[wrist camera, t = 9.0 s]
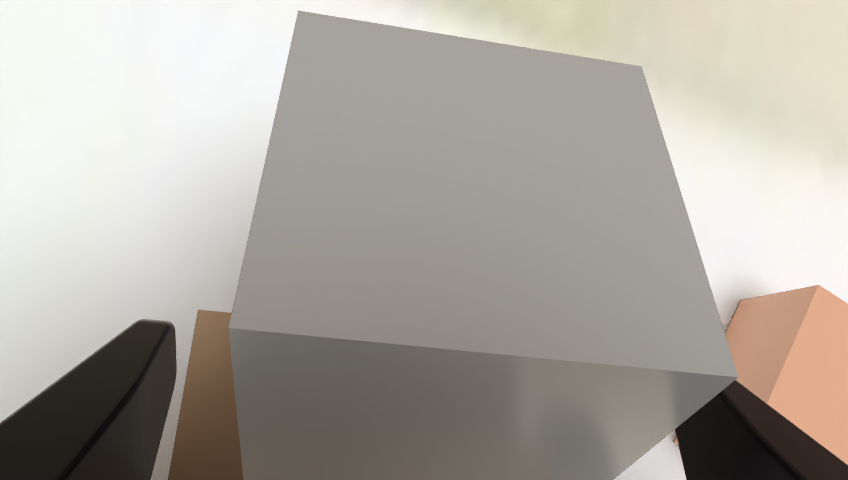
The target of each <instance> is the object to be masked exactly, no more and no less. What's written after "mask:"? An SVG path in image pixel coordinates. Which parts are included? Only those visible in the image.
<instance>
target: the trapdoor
mask: <svg viewBox="0 0 848 480" xmlns="http://www.w3.org/2000/svg"><path fill="white" fill-rule="evenodd" d="M231 315H232V313H225V312H215V311H204V310H198V314H197V319H196V325H195V330H194V336H193V342H192V347H191V353H190V359H189V364H188V370H187V376H186V381H185V387H184V392H183V398H182V404H181V409H180V415H179V421H178V426H177V432H176V438H175V443H174V449H173V455H172V460H171V466H170V471H169V477H168V480H243V469H242V459H241V449H240V439H239V429H238V419H237V408H236V398H235V388H234V378H233V368H232V357H231V347H230V337H229V324H230V319H231Z"/></svg>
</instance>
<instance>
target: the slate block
mask: <svg viewBox="0 0 848 480" xmlns="http://www.w3.org/2000/svg"><path fill="white" fill-rule="evenodd" d="M229 337H230V347H231V357H232V368H233V378H234V388H235V398H236V408H237V419H238V429H239V439H240V449H241V459H242V469H243V480H613V479H614V478H616V477H617V476H618V475H619V474H621V473H622V472H623V471H624V470H625V469H627V468H628V467H629V466H630V465H632V464H633V463H634V462H635V461H637V460H638V459H639V458H640V457H641V456H643V455H644V454H645V453H646V452H648V451H649V450H650V449H651V448H652V447H654V446H655V445H656V444H657V443H659V442H660V441H661V440H662V439H663V438H665V437H666V436H667V435H668V434H670V433H671V432H672V431H673V430H674V429H676V428H677V427H678V426H679V425H681V424H682V423H683V422H684V421H685V420H687V419H688V418H689V417H690V416H692V415H693V414H694V413H695V412H696V411H698V410H699V409H700V408H701V407H703V406H704V405H705V404H706V403H707V402H709V401H710V400H711V399H712V398H714V397H715V396H716V395H717V394H719V393H720V392H721V391H722V390H723V389H725V388H726V387H727V386H728V385H730V384H731V383H732V382H733V381H734V380H736V379H737V378H738V374H737V371H736V368H735V365H734V362H733V358H732V355H731V352H730V349H729V346H728V342H727V339H726V336H725V333H724V330H723V326H722V323H721V320H720V317H719V313H718V310H717V307H716V304H715V301H714V297H713V294H712V291H711V288H710V285H709V281H708V278H707V275H706V272H705V269H704V265H703V262H702V259H701V256H700V253H699V249H698V246H697V243H696V240H695V236H694V233H693V230H692V227H691V224H690V220H689V217H688V214H687V211H686V208H685V204H684V201H683V198H682V195H681V192H680V188H679V185H678V182H677V179H676V176H675V172H674V169H673V166H672V163H671V160H670V156H669V153H668V150H667V147H666V143H665V140H664V137H663V134H662V131H661V127H660V124H659V121H658V118H657V115H656V111H655V108H654V105H653V102H652V99H651V95H650V92H649V89H648V86H647V83H646V79H645V76H644V73H643V70H642V66H635V65H629V64H623V63H617V62H611V61H605V60H598V59H592V58H586V57H580V56H574V55H568V54H562V53H555V52H549V51H543V50H537V49H531V48H525V47H518V46H512V45H506V44H500V43H494V42H488V41H482V40H475V39H469V38H463V37H457V36H451V35H445V34H438V33H432V32H426V31H420V30H414V29H408V28H402V27H395V26H389V25H383V24H377V23H371V22H365V21H358V20H352V19H346V18H340V17H334V16H328V15H321V14H315V13H309V12H303V11H298V14H297V19H296V23H295V28H294V33H293V37H292V42H291V46H290V51H289V55H288V60H287V64H286V69H285V74H284V78H283V83H282V87H281V92H280V96H279V101H278V105H277V110H276V114H275V119H274V124H273V128H272V133H271V137H270V142H269V146H268V151H267V155H266V160H265V165H264V169H263V174H262V178H261V183H260V187H259V192H258V196H257V201H256V206H255V210H254V215H253V219H252V224H251V228H250V233H249V237H248V242H247V246H246V251H245V256H244V260H243V265H242V269H241V274H240V278H239V283H238V287H237V292H236V297H235V301H234V306H233V310H232V315H231V319H230V324H229Z"/></svg>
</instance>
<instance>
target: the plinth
mask: <svg viewBox="0 0 848 480" xmlns="http://www.w3.org/2000/svg"><path fill="white" fill-rule="evenodd" d="M725 336H726V339H727V342H728V346H729V349H730V352H731V355H732V358H733V362H734V365H735V368H736V371H737V374H738V378H737V379H736V381H738V382H739V383H740V384H742V385H743V386H744V387H746V388H747V389H748V390H750V391H751V392H752V393H754V394H755V395H756V396H757V397H759V398H760V399H761V400H763V401H764V402H765V403H767V404H768V405H769V406H771V407H772V408H773V409H775V410H776V411H777V412H779V413H780V414H781V415H783V416H784V417H785V418H786V419H788V420H789V421H790V422H792V423H793V424H794V425H796V426H797V427H798V428H800V429H801V430H802V431H804V432H805V433H806V434H808V435H809V436H810V437H812V438H813V439H814V440H816V441H817V442H818V443H819V444H821V445H822V446H823V447H825V448H826V449H827V450H829V451H830V452H831V453H833V454H834V455H835V456H837V457H838V458H839V459H841V460H842V461H843V462H845V463H846V464H847V465H848V304H847V303H846V302H844V301H843V300H841V299H839V298H838V297H836V296H835V295H833V294H832V293H830V292H829V291H827V290H826V289H824V288H823V287H821V286H820V285H816V286H811V287H806V288H801V289H796V290H791V291H785V292H780V293H775V294H770V295H765V296H760V297H755V298H750V299H744V300H741V301H740V303H739V305H738V307H737V309H736V311H735V314H734V316H733V318H732V320H731V322H730V324H729V326H728V328H727V330H726V333H725ZM674 443H675V444H676V445H678V440H677V437H676V439H675V441H674ZM678 446H679V445H678Z"/></svg>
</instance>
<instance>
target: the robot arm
mask: <svg viewBox="0 0 848 480" xmlns="http://www.w3.org/2000/svg"><path fill="white" fill-rule="evenodd" d="M175 380H176V339H175V328H174V325H173V324H172V323H171V322H169V321H160V320H149V319H141V320H139V321H137V322H135V323H134V324H132V325H131V326H130V327H128V328H127V329H126V330H124V331H123V332H122V333H120V334H119V335H118V336H116V337H115V338H114V339H112V340H111V341H109V342H108V343H107V344H105V345H104V346H103V347H101V348H100V349H99V350H97V351H96V352H95V353H93V354H92V355H91V356H89V357H88V358H87V359H85V360H84V361H83V362H81V363H80V364H79V365H77V366H76V367H75V368H73V369H72V370H71V371H69V372H68V373H67V374H65V375H64V376H62V377H61V378H60V379H58V380H57V381H56V382H54V383H53V384H52V385H50V386H49V387H48V388H46V389H45V390H44V391H42V392H41V393H40V394H38V395H37V396H36V397H34V398H33V399H32V400H30V401H29V402H28V403H26V404H25V405H24V406H22V407H21V408H20V409H18V410H17V411H15V412H14V413H13V414H11V415H10V416H9V417H7V418H6V419H5V420H3V421H2V422H1V423H0V480H150V479H151V475H152V471H153V467H154V463H155V460H156V456H157V452H158V448H159V444H160V440H161V436H162V432H163V428H164V425H165V421H166V417H167V413H168V409H169V405H170V401H171V397H172V394H173V390H174V385H175ZM675 432H676V436H677V440H678V445H679V449H680V453H681V458H682V462H683V466H684V470H685V475H686V479H687V480H848V465H847V464H846V463H845V462H843V461H842V460H841V459H839V458H838V457H837V456H835V455H834V454H833V453H831V452H830V451H829V450H827V449H826V448H825V447H823V446H822V445H821V444H819V443H818V442H817V441H816V440H814V439H813V438H812V437H810V436H809V435H808V434H806V433H805V432H804V431H802V430H801V429H800V428H798V427H797V426H796V425H794V424H793V423H792V422H790V421H789V420H788V419H786V418H785V417H784V416H783V415H781V414H780V413H779V412H777V411H776V410H775V409H773V408H772V407H771V406H769V405H768V404H767V403H765V402H764V401H763V400H761V399H760V398H759V397H757V396H756V395H755V394H754V393H752V392H751V391H750V390H748V389H747V388H746V387H744V386H743V385H742V384H740V383H739V382H738V381H736V380H734V381H733V382H732V383H731V384H730V385H728V386H727V387H726V388H725V389H723V390H722V391H721V392H720V393H719V394H717V395H716V396H715V397H714V398H712V399H711V400H710V401H709V402H707V403H706V404H705V405H704V406H703V407H701V408H700V409H699V410H698V411H696V412H695V413H694V414H693V415H692V416H690V417H689V418H688V419H687V420H685V421H684V422H683V423H682V424H681V425H679V426H678V427H677V428H676V429H675Z"/></svg>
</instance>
